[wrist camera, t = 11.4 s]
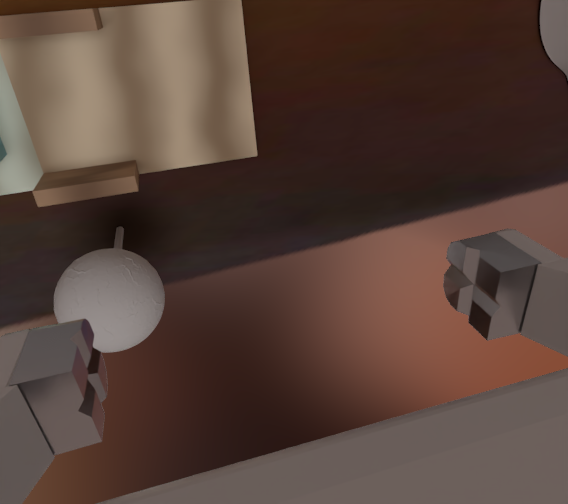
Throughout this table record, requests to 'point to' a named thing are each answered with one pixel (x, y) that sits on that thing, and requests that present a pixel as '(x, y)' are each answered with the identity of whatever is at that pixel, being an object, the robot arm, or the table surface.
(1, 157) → the block
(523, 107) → the table surface
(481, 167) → the table surface
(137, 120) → the deck
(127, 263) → the lollipop
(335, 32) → the table surface
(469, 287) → the robot arm
